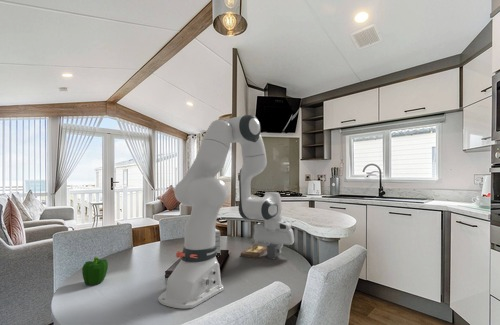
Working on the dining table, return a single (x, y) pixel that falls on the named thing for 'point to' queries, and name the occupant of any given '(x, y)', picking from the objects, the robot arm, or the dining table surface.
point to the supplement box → (217, 240)
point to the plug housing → (272, 251)
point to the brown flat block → (254, 250)
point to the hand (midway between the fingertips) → (274, 252)
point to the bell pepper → (94, 271)
